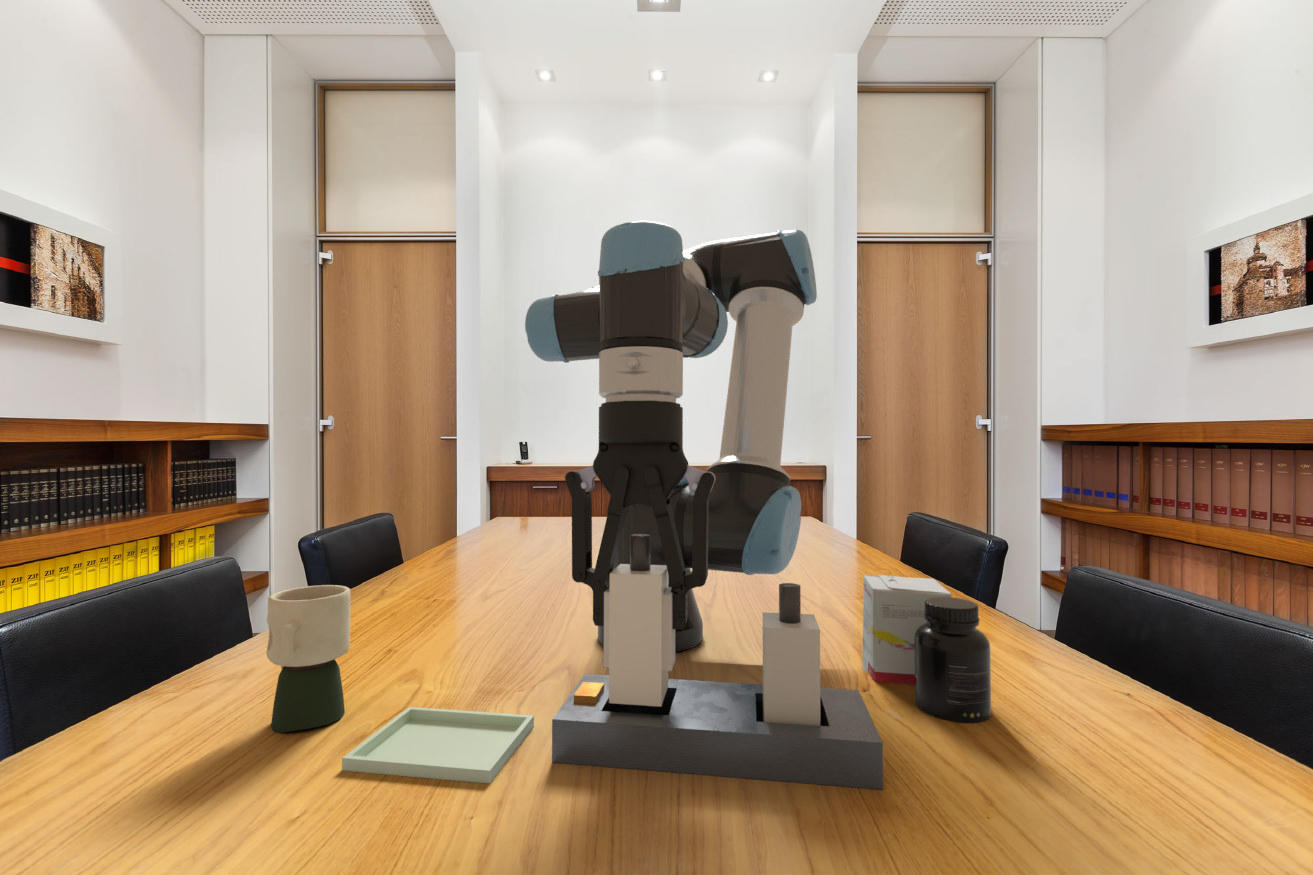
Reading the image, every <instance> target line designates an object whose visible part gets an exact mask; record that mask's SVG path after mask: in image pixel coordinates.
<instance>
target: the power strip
mask: <svg viewBox="0 0 1313 875" xmlns="http://www.w3.org/2000/svg"><path fill="white" fill-rule="evenodd" d="M568 695H569V696H567V698H566V699H565V701H564V702H563V703H562V705H561V707H560V708H559V709H558V710H557V712H556V713H555V715H554V716H553V717H552V718H551V735H552V736H551V763H552V764H560V765H562V764H563V765H572V766H573V765H574V766H588V767H598V768H599V767H600V768H611V769H622V770H623V769H625V770H633V771H635V770H636V771H646V772H658V773H660V772H661V773H670V774H671V773H672V774H673V773H674V774H682V775H683V774H685V775H695V776H697V775H698V776H708V777H709V776H710V777H721V778H733V779H745V780H755V781H757V780H758V781H769V782H782V783H794V784H807V785H818V786H827V787H828V786H830V787H842V788H853V789H863V790H864V789H865V790H867V789H868V790H876V791H883V790H884V769H883V768H884V764H883V763H884V762H883V760H884V758H883V757H884V753H883V752H884V749H883V748H884V747H883V746H884V745H883V740H882V738H881V736H880V734H879V732H878V730H877V727H876V725H875V723H874V721H873V719H872V717H871V714H870V712H869V709H868V708H867V706H866V704H865V702H864V699H863V697H862V695H861V693H860V690H859V689H850V688H849V689H848V688H831V687H820V726H814V725H799V724H784V723H770V722H763V683H762V684H761V683H760V684H759V683H745V682H744V683H743V682H729V681H728V682H727V681H714V680H713V681H712V680H711V681H710V680H698V679H697V680H693V679H692V680H691V679H680V678H679V679H675V678H668V688H667V691H666V694H665V697H664V700H663V703H662V706H661V707H659V706H644V705H629V704H615V703H609V674H592V673H591V674H590V673H585V674H583V676H582V678H580V680H579V682H578V683H577V684H576V686H575V687H574V688H573V689H572V691H571V692H570V694H568Z"/></svg>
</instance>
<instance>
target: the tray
mask: <svg viewBox="0 0 1313 875" xmlns="http://www.w3.org/2000/svg"><path fill="white" fill-rule="evenodd" d="M534 727H535V715H530V714H519V713H518V714H516V713H504V712H503V713H501V712H487V711H475V710H460V709H446V708H430V707H418V706H416V707H415V706H408V707H407V708H406V709H404V710H403V711H402V712H400V713H399V714H398V715H396V716H395V717H393V718H392V719H391V720H390V721H389V722H387V723H386V724H384V726H382V727H381V728H379V729H378V730H377V731H375V732H374V733H373V734H372V735H370V736H369V737H367V738H366V739H365V740H364V741H362V742H361V743H360V744H358V745H357V746H356V747H354V748H353V749H352V750H350V751H349V752H348V753H346V754H345V755H344V756H343V757H341V772H352V773H365V774H372V775H373V774H374V775H375V774H376V775H386V776H398V777H406V778H407V777H408V778H420V779H431V780H441V781H452V782H453V781H455V782H463V783H466V782H467V783H475V784H485V785H486V784H488V785H490V784H491V783H492V782H493V781H494V779H495V778H496V776H497V775H498V774H499V773H500V771H501V770H503V767H504V766H505V765H506V763H507V762H508V761H509V759H510V758H511V757H512V756H513V755H514V753H515V752H516V751H517V749H518V748H519V747H520V745H521V744H522V742H524V740H525V739H526V737H528V735H529V734H530V732H531V731H532V730H533V728H534Z"/></svg>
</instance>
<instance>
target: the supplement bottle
mask: <svg viewBox="0 0 1313 875" xmlns="http://www.w3.org/2000/svg"><path fill="white" fill-rule="evenodd" d="M924 618H925V620H927V623H925V624H923V625H921V626H920V627H919V628H918V629H917V630H916V632H915V639H914V649H915V684H914V704H915V706H916V707H917V708H918V710H920V711H921V712H923V713H925V714H927V715H928V716H931V717H934V718H935V719H939V720H944V721H947V722H952V723H958V724H979V723H985V722H987V721H989V719H990V718H991V717H992V697H991V696H992V692H991V691H992V690H991V689H992V685H991V684H992V683H991V679H992V678H991V675H992V674H991V669H992V668H991V667H992V666H991V644H990V643H991V642H990V641H989V639H988V637H987V636H986V634H984V633H983V631H981V630H980V629H978V628H977V627H978V626H979V625H980V622H981V621H980V617H979V606H978V604H977V603H976V602H974V601H971V600H968V599H964V598H960V597H953V596H952V597H931V598H927V599H926V600H925V613H924Z"/></svg>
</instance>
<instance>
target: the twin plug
mask: <svg viewBox="0 0 1313 875" xmlns="http://www.w3.org/2000/svg"><path fill="white" fill-rule="evenodd" d="M801 601H802V600H801V585H800V584H798V583H791V582H786V583H785V582H784V583H779V584H778V609H779V610H778V612H764V611H763V612H762V684H763V722H770V723H784V724H799V725H814V726H820V688H821V629H820V626H819V624H818V621H817V619H816V616H815V614H812V613H811V614H810V613H801V608H802V607H801V606H802V605H801Z"/></svg>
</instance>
